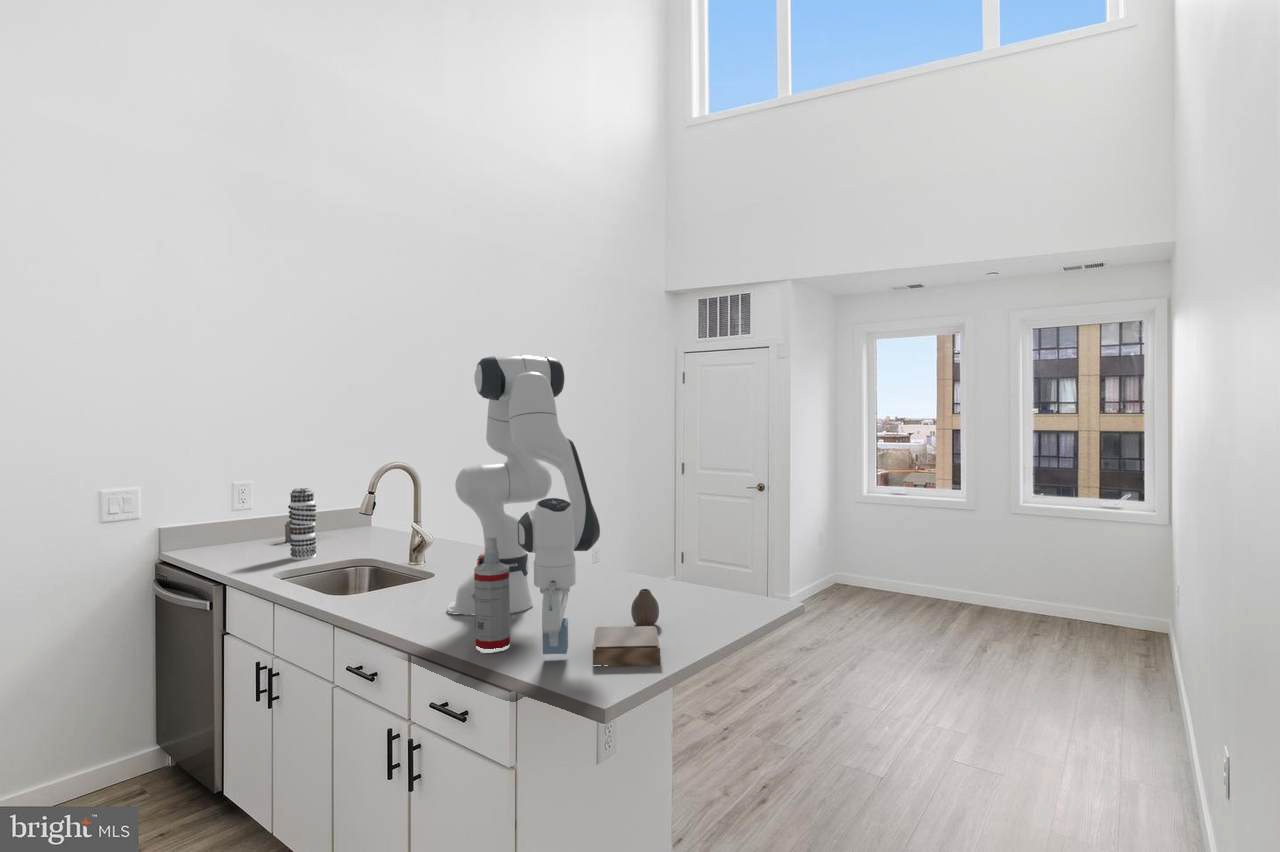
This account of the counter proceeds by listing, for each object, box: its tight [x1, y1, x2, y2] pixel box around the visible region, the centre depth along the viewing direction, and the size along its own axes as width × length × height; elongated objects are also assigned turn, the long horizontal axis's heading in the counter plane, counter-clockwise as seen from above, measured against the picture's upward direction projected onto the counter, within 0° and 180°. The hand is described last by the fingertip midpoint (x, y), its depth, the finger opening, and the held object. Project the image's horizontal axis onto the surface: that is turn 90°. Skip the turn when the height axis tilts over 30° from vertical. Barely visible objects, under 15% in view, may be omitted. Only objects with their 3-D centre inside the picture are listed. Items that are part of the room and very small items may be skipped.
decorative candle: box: [287, 487, 317, 561], centre depth 255 cm, size 9×9×25 cm
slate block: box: [541, 617, 569, 655], centre depth 150 cm, size 5×5×6 cm
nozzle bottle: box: [473, 537, 511, 649], centre depth 158 cm, size 8×8×25 cm
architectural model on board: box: [284, 519, 316, 544], centre depth 289 cm, size 11×3×10 cm, turn 150°
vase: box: [630, 588, 660, 626], centre depth 174 cm, size 7×7×9 cm
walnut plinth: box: [592, 625, 661, 667], centre depth 153 cm, size 14×14×4 cm
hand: (555, 639), depth 150 cm, fingers closed on slate block, 5 cm apart
